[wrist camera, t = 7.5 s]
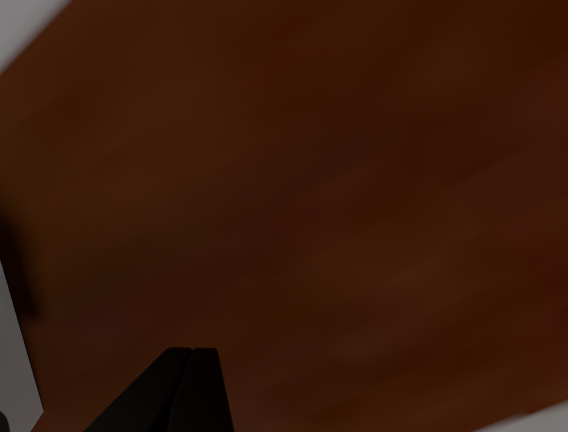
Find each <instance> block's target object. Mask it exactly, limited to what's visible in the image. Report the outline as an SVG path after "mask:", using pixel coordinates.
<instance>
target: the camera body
mask: <svg viewBox="0 0 568 432" xmlns="http://www.w3.org/2000/svg"><path fill="white" fill-rule="evenodd" d="M42 413H43V407H42V404H41V400H40V397H39V393H38V390H37V386H36V383H35V379H34V376H33V373H32V369H31V366H30V362H29V359H28V355H27V352H26V348H25V345H24V341H23V338H22V334H21V331H20V327H19V324H18V320H17V317H16V313H15V310H14V306H13V303H12V299H11V296H10V292H9V289H8V285H7V282H6V278H5V275H4V271H3V268H2V264H1V261H0V432H30V431H31V430H32V428H33V426H34V425H35V423H36V422H37V420H38V419H39V417H40V416H41V414H42Z"/></svg>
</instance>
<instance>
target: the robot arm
mask: <svg viewBox="0 0 568 432" xmlns="http://www.w3.org/2000/svg"><path fill="white" fill-rule="evenodd" d="M83 432H234V427H233V422H232V418H231V413H230V408H229V403H228V398H227V394H226V389H225V384H224V379H223V374H222V369H221V365H220V360H219V355H218V351H217V349H215V348H195V349H193V350H192V349H191V348H188V347H170V348H168V349H166V350H165V351H164V352H163V353H162V354H161V355H160V356H159V357H158V358H157V359H156V360H155V361H154V362H153V363H152V364H151V365H150V366H149V367H148V368H147V369H146V370H145V371H144V372H143V373H142V374H141V375H140V376H139V377H138V378H137V379H136V380H135V381H133V382H132V383H131V384H130V385H129V386H128V387H127V388H126V389H125V390H124V391H123V392H122V393H121V394H120V395H119V396H118V397H117V398H116V399H115V400H114V401H113V402H112V403H111V404H110V405H109V406H108V407H107V408H106V409H105V410H104V411H103V412H102V413H101V414H100V415H99V416H98V417H97V418H96V419H95V420H94V421H93V422H92V423H91V424H90V425H89V426H88V427H87V428H86V429H85V430H84V431H83Z"/></svg>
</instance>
